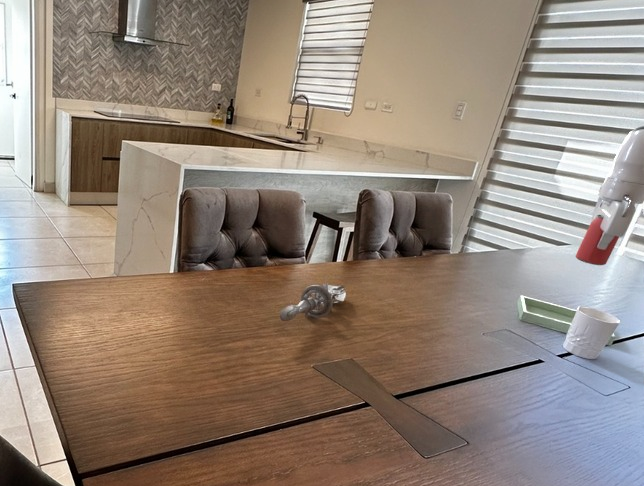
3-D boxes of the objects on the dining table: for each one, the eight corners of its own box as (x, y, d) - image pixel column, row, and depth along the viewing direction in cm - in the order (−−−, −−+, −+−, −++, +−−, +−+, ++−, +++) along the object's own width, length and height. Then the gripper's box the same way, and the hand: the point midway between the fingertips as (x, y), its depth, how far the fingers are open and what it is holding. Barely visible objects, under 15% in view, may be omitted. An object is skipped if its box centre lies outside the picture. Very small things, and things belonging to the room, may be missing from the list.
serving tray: (600, 325, 128) (604, 317, 126) (610, 346, 116) (615, 337, 115) (517, 303, 136) (520, 295, 135) (519, 320, 125) (523, 311, 124)
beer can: (581, 263, 122) (603, 218, 117) (569, 255, 128) (589, 212, 123) (610, 268, 121) (633, 223, 116) (596, 259, 126) (618, 216, 122)
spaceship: (262, 298, 100) (296, 297, 95) (327, 275, 127) (356, 274, 122) (266, 335, 100) (300, 336, 95) (330, 304, 127) (359, 304, 122)
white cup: (596, 350, 113) (616, 314, 109) (603, 365, 107) (623, 326, 103) (557, 339, 116) (575, 303, 112) (561, 352, 110) (580, 315, 106)
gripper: (650, 201, 107) (621, 258, 112) (629, 190, 124) (605, 239, 129) (616, 195, 110) (589, 251, 115) (599, 185, 126) (577, 233, 132)
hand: (597, 244), depth 122 cm, fingers closed on beer can, 6 cm apart
